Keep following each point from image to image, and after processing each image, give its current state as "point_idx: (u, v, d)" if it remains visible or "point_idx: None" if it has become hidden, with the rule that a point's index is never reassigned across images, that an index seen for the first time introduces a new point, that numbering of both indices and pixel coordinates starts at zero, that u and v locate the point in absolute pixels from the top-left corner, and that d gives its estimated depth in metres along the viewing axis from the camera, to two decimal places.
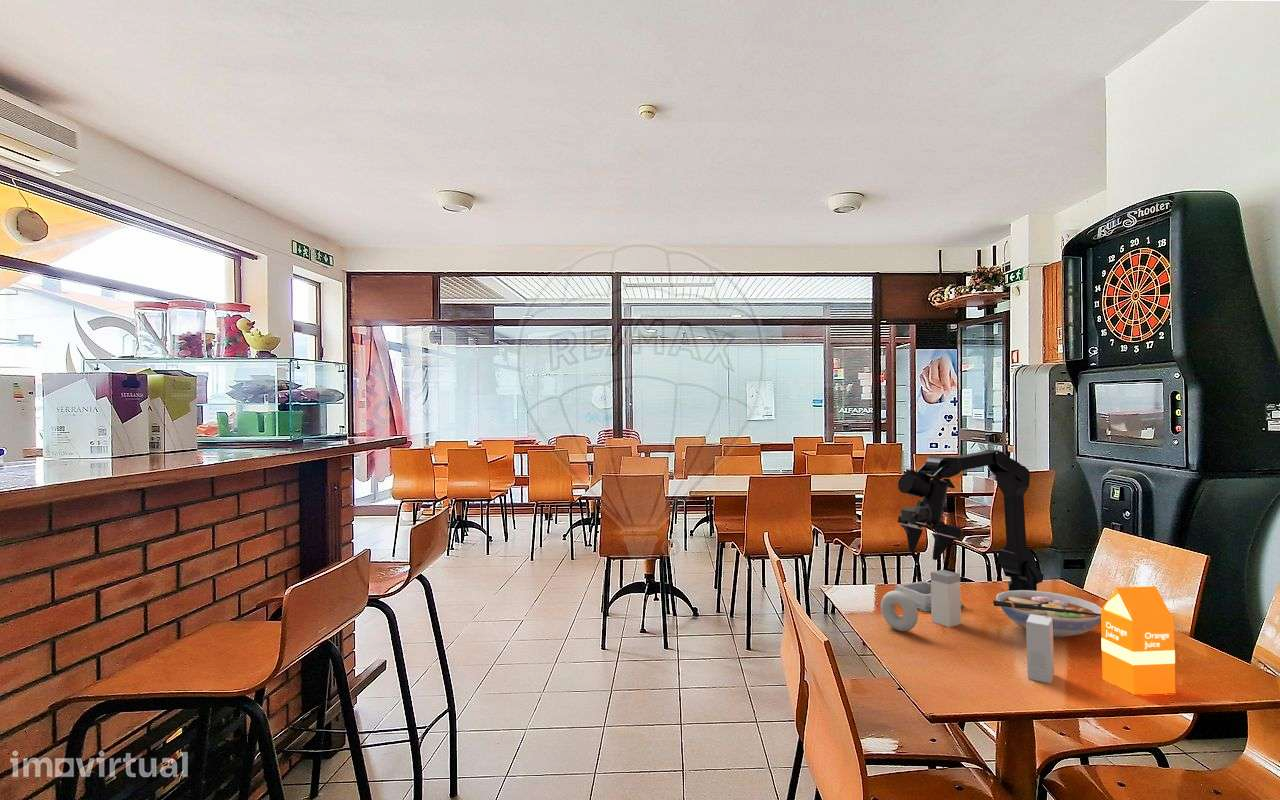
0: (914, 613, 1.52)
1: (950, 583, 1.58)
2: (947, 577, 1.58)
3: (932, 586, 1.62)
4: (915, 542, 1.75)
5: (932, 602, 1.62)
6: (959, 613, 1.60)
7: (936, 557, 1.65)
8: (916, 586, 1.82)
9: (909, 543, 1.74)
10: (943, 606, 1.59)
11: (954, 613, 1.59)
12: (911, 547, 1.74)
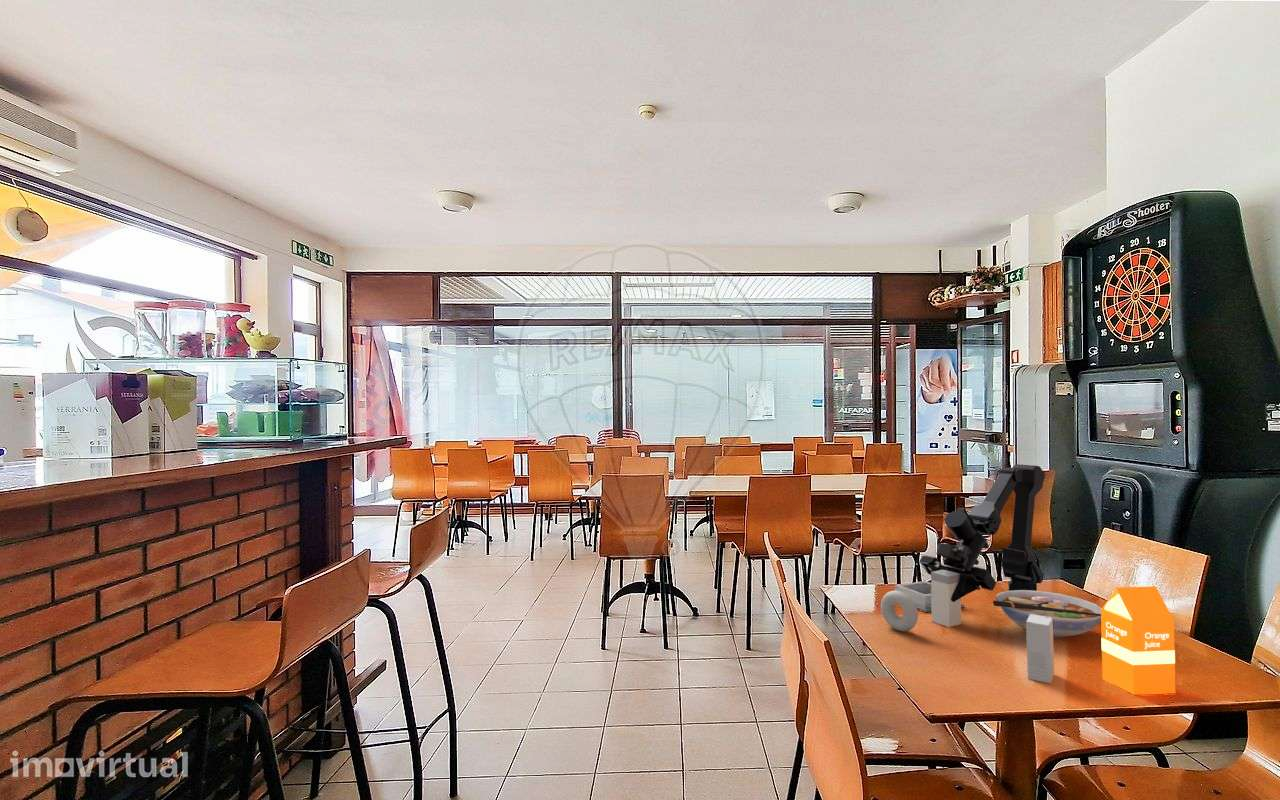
0: (914, 613, 1.52)
1: (951, 583, 1.58)
2: (947, 577, 1.58)
3: (933, 586, 1.62)
4: None
5: (932, 602, 1.62)
6: (959, 613, 1.60)
7: (954, 599, 1.58)
8: (916, 586, 1.82)
9: None
10: (943, 606, 1.59)
11: (954, 613, 1.59)
12: None
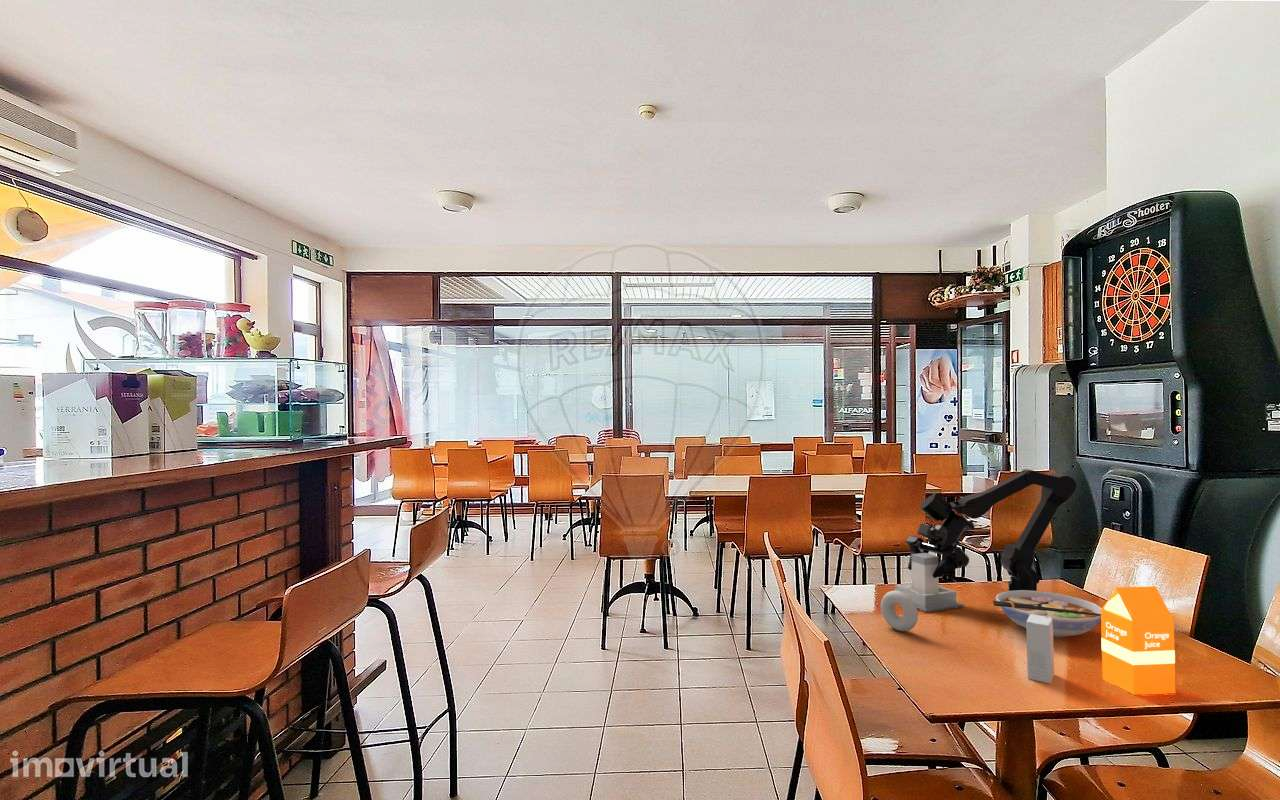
0: (914, 613, 1.52)
1: (927, 564, 1.75)
2: (923, 559, 1.75)
3: (913, 567, 1.79)
4: None
5: (912, 581, 1.79)
6: (937, 592, 1.76)
7: (936, 575, 1.73)
8: None
9: (910, 560, 1.82)
10: (920, 585, 1.76)
11: (931, 591, 1.75)
12: (911, 565, 1.82)
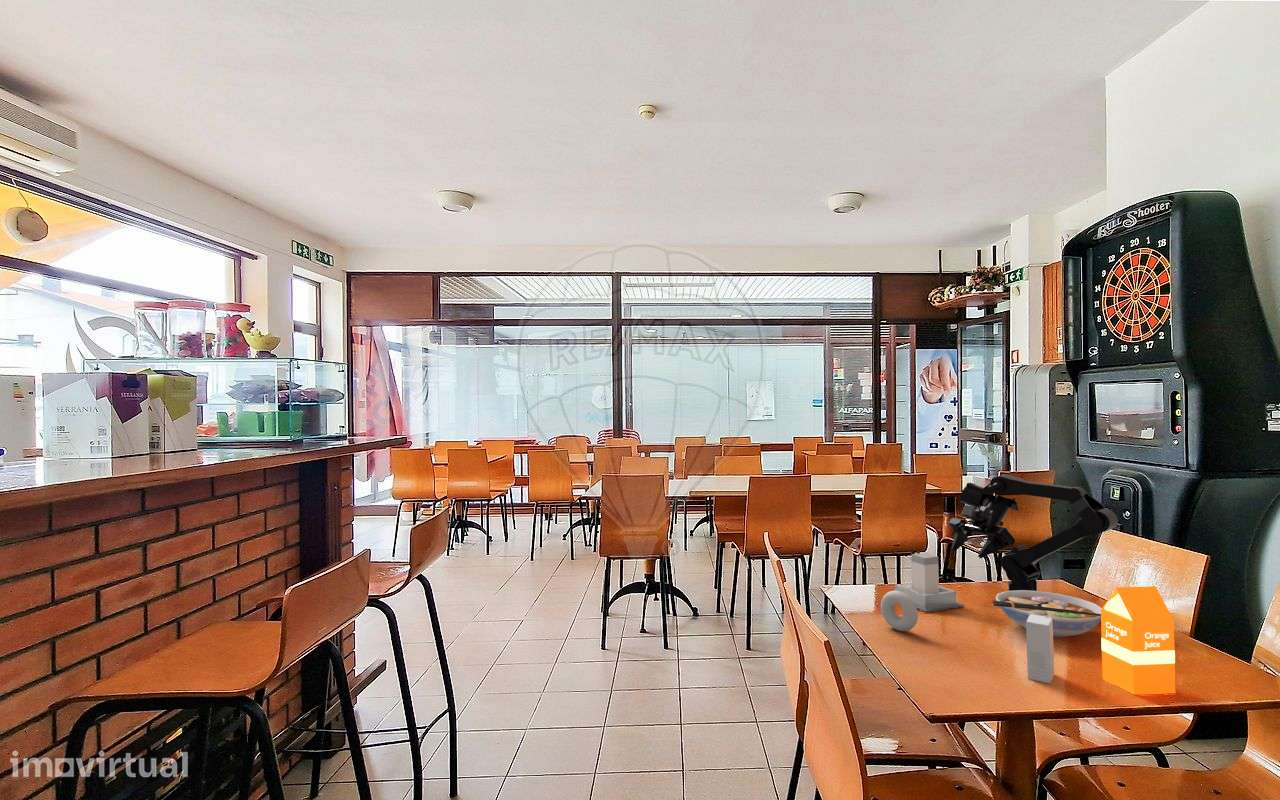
0: (914, 613, 1.52)
1: (927, 564, 1.75)
2: (923, 559, 1.75)
3: (913, 567, 1.79)
4: (959, 544, 1.85)
5: (912, 581, 1.79)
6: (937, 592, 1.76)
7: (982, 555, 1.75)
8: None
9: (954, 542, 1.85)
10: (920, 585, 1.76)
11: (931, 591, 1.75)
12: (955, 546, 1.84)
